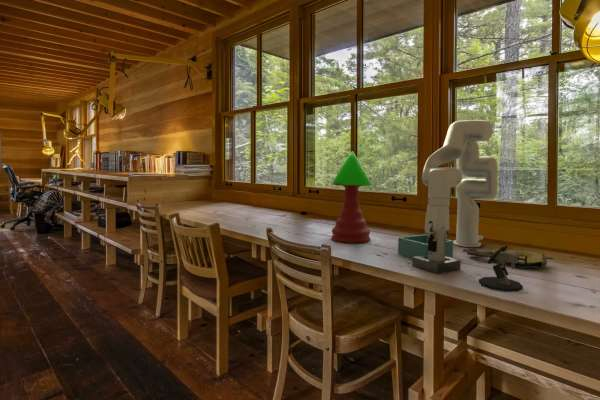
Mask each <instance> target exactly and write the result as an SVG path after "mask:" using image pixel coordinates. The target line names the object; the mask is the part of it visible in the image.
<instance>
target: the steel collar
mask: <svg viewBox="0 0 600 400" xmlns="http://www.w3.org/2000/svg"><path fill="white" fill-rule="evenodd" d="M461 261H462V260H461V259H459V258H458V259H457V258H454V257H451V258H450V257H446V256H445V261H441V262H435V261H431V260H428V255H422V256H416V257H413V258H412V267H415V268H418V269H420V270H423V271H426V272H429V273H433V274H436V275H439V274H444V273H445V274H446V273H449V272H455V271H460V270H461Z"/></svg>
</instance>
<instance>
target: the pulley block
mask: <svg viewBox="0 0 600 400" xmlns="http://www.w3.org/2000/svg"><path fill="white" fill-rule="evenodd" d="M499 249H500V248H492V249H491V250H490V251H487V250H482V249H480V248H468V249H467V250H472V251H478V252H484V253H489V254H492V253H495V252H497V251H498V250H499ZM505 252H509V253H515V254H519V258H523V259H525V256H527V264H525V261H524V260H519V262H517V263H515V269H519V270H525V271H537V270H538V271H539V270H544V271H545V270H546V271H547V270H548V271H549V269H547V268H545V266H546V267H547V264H548V261H547V259H548V260H555V258H553V257H546V254H545V253H543V254H539V253H538V252H532V251H527V250H513V249H506V250H505ZM466 254H467V255H469V256H475V257H479V258H480V257H481V258H489V259H490V256H484V255H479V254H473V253H468V252H466ZM492 263H496V264H499V260H498V259H496V260H495V261H493V262H492ZM504 265H505V267H508V268H511V262H509V261H505V264H504Z"/></svg>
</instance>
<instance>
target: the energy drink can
mask: <svg viewBox="0 0 600 400" xmlns="http://www.w3.org/2000/svg"><path fill="white" fill-rule="evenodd" d="M431 232H434V231H433V230H432V231H431ZM431 235H433V237H434V234H431ZM446 239H447V238H446V228H445V227H444V226H443V227H442V228H441V230H440V233H438V234H437V237H436V241H437V251H436V252H432V251H428V260H431V261H435V262H441V261H445V251H446Z"/></svg>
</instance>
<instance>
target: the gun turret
mask: <svg viewBox="0 0 600 400" xmlns="http://www.w3.org/2000/svg"><path fill="white" fill-rule="evenodd" d="M508 247H509V246H508V245H505V246H502V247H500V248H498V249H499V250H498V251H497V252H495V253H492V254H489V253H484V252H478V251H472V250H468V249H465V248H463V249H462V252H463V253H467V252H468V253H473V254H479V255H484V256H490V258H489V259H488V262H487V264H493V263H494V262H493V261H495V260H496V259H498V260H499V263H496V265H492V269H493V273H495V276H483V277H481V278H479V279H478V284H479V285H480V284H481V285H480V286H481V287H483V286H484V288H486V289H490V290H492V291H493V290H494V291H497V292H498V291H499V292H506V293H507V292H510V293H511V292H519V291H521V290H523V287H524V286H523V284H521V282H520V281H516V280H513V279H511V278H508V275H509V272H508V270H507V267H506V266H505V265H504V264H505V261H509V262H511V267H510V268H511V269H512V270H515V269H516V268H515V263H517V262H519V260H524V261H525V264H527V256H525V259H523V258H519V254H515V253H509V252H505V250H508Z"/></svg>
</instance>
